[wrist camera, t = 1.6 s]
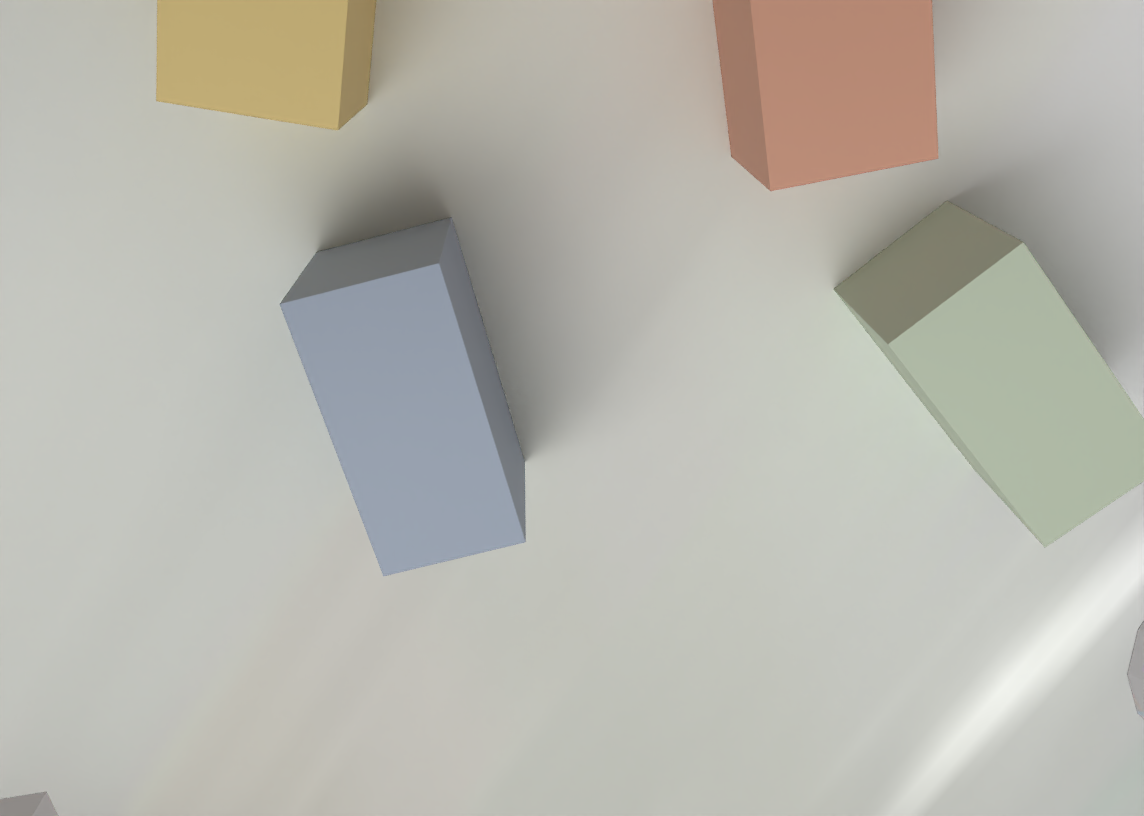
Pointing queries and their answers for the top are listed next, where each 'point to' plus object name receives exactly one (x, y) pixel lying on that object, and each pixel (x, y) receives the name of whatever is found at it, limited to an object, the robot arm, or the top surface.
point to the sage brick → (1002, 368)
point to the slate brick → (411, 395)
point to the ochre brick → (267, 57)
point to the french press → (1138, 671)
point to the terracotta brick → (827, 86)
